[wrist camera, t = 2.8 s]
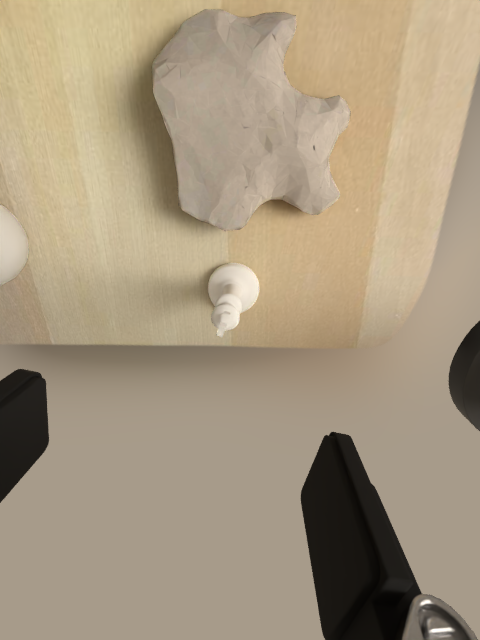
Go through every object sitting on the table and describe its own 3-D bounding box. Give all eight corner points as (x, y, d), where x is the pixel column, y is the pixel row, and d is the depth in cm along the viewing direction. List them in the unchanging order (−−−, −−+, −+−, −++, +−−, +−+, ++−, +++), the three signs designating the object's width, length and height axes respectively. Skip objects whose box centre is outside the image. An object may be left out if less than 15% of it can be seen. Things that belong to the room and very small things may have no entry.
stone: (339, 244, 21) (137, 216, 21) (324, 246, 25) (152, 222, 24) (386, 14, 18) (149, -29, 17) (361, 53, 22) (164, 19, 21)
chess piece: (266, 272, 27) (272, 306, 17) (249, 318, 28) (245, 372, 19) (216, 255, 26) (195, 280, 17) (202, 302, 28) (175, 349, 19)
